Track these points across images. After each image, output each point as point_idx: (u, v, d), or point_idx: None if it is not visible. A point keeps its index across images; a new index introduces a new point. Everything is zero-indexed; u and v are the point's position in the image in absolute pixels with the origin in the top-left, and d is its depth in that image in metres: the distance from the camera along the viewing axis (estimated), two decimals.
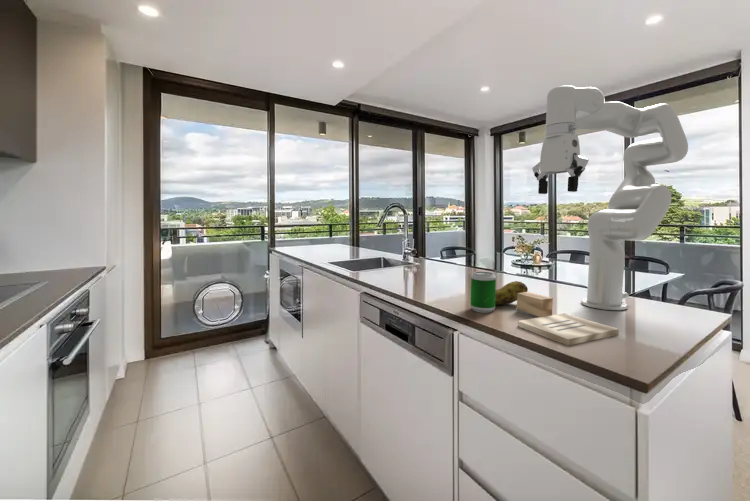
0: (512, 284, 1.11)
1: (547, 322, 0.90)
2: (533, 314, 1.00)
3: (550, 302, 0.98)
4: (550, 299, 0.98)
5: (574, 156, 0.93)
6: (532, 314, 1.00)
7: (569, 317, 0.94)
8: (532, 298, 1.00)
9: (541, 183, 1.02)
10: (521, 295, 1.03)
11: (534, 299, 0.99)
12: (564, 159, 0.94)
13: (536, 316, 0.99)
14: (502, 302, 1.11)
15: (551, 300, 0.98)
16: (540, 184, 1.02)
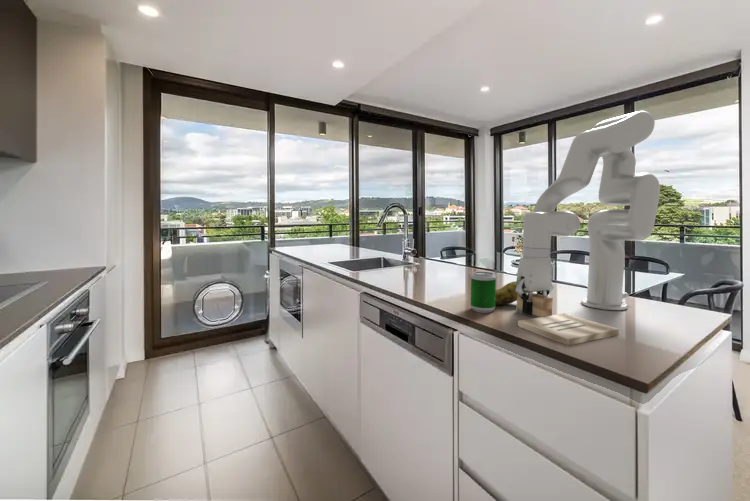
0: (512, 284, 1.11)
1: (547, 322, 0.90)
2: (533, 314, 1.00)
3: (550, 302, 0.98)
4: (550, 299, 0.98)
5: None
6: (532, 314, 1.00)
7: (569, 317, 0.94)
8: (532, 298, 1.00)
9: None
10: None
11: (534, 299, 0.99)
12: (549, 280, 1.01)
13: (536, 316, 0.99)
14: (502, 302, 1.11)
15: (551, 300, 0.98)
16: (531, 306, 1.00)
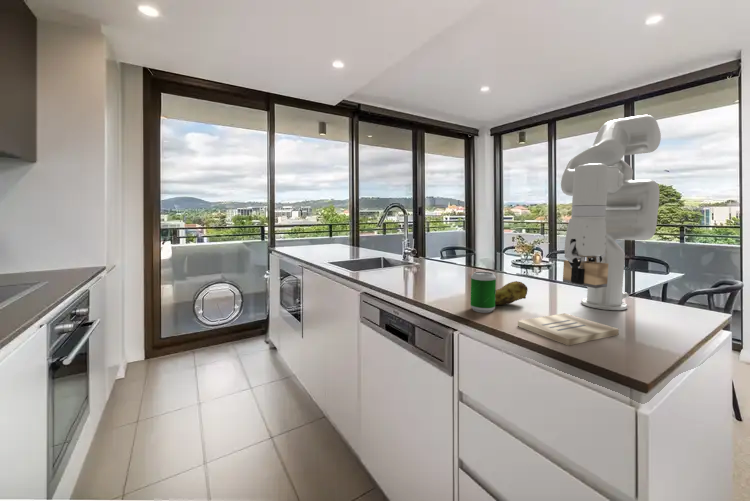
0: (512, 284, 1.11)
1: (547, 322, 0.90)
2: (584, 283, 0.86)
3: (606, 268, 0.85)
4: (606, 265, 0.85)
5: None
6: (584, 283, 0.86)
7: (569, 317, 0.94)
8: (584, 264, 0.86)
9: None
10: None
11: (587, 265, 0.85)
12: (603, 245, 0.87)
13: (589, 284, 0.85)
14: (502, 302, 1.11)
15: (606, 266, 0.85)
16: (583, 273, 0.86)
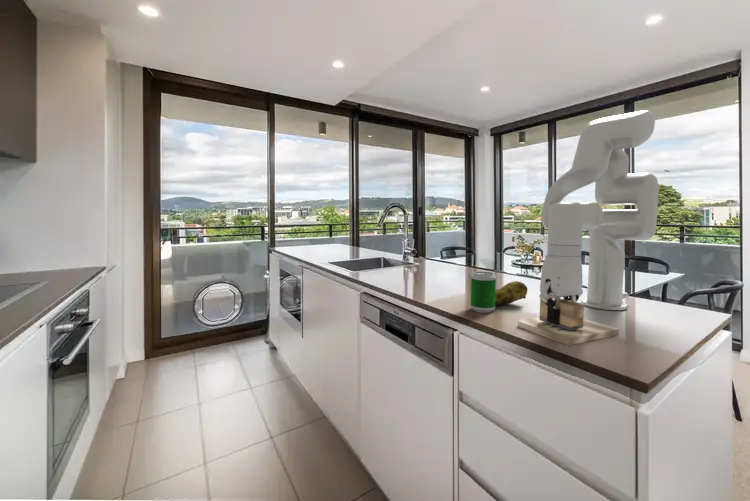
0: (512, 284, 1.11)
1: None
2: (560, 323, 0.84)
3: (581, 309, 0.83)
4: (581, 305, 0.82)
5: None
6: (559, 323, 0.84)
7: None
8: (559, 304, 0.84)
9: None
10: None
11: (562, 305, 0.83)
12: (579, 284, 0.85)
13: (564, 326, 0.83)
14: (502, 302, 1.11)
15: (582, 307, 0.83)
16: None
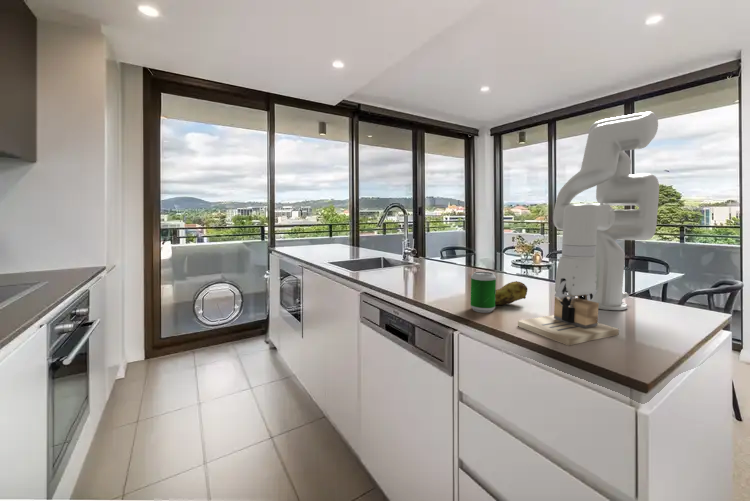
0: (512, 284, 1.11)
1: (547, 322, 0.90)
2: (575, 322, 0.86)
3: (596, 308, 0.85)
4: (596, 304, 0.85)
5: None
6: (574, 321, 0.87)
7: None
8: (574, 303, 0.86)
9: None
10: None
11: (577, 304, 0.86)
12: (594, 283, 0.87)
13: (579, 324, 0.85)
14: (502, 302, 1.11)
15: (596, 306, 0.85)
16: None
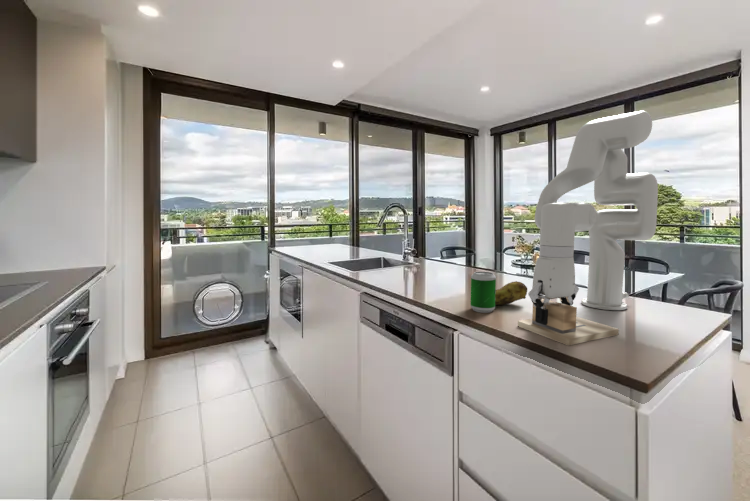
0: (512, 284, 1.11)
1: None
2: (552, 327, 0.83)
3: (574, 312, 0.82)
4: (574, 309, 0.82)
5: None
6: (552, 326, 0.83)
7: None
8: (552, 307, 0.83)
9: None
10: None
11: (554, 309, 0.82)
12: (572, 285, 0.84)
13: (557, 329, 0.82)
14: (501, 302, 1.11)
15: (574, 310, 0.82)
16: None
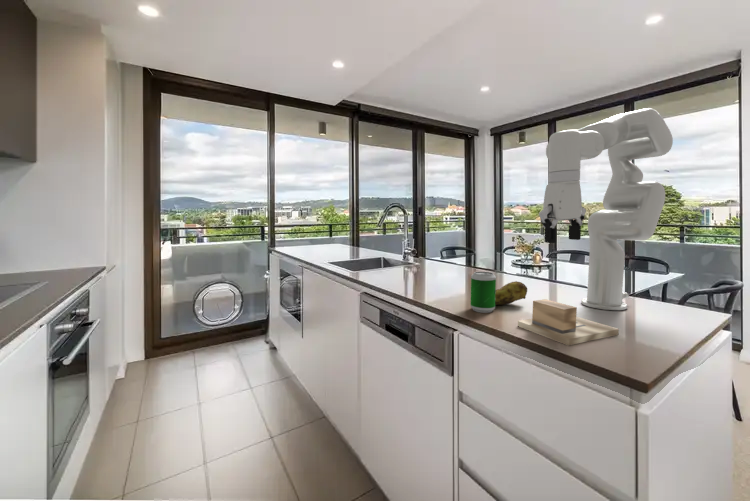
0: (512, 284, 1.11)
1: None
2: (552, 327, 0.83)
3: (574, 312, 0.82)
4: (574, 309, 0.82)
5: None
6: (552, 326, 0.83)
7: None
8: (552, 307, 0.83)
9: None
10: (538, 303, 0.87)
11: (554, 309, 0.82)
12: (579, 208, 0.92)
13: (557, 329, 0.82)
14: (501, 302, 1.11)
15: (574, 310, 0.82)
16: (555, 232, 0.90)
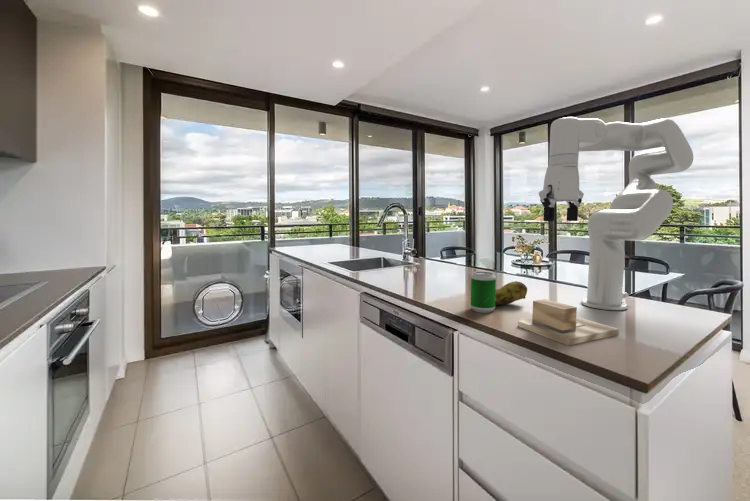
0: (511, 284, 1.11)
1: None
2: (552, 327, 0.83)
3: (574, 312, 0.82)
4: (574, 309, 0.82)
5: None
6: (552, 326, 0.83)
7: None
8: (552, 307, 0.83)
9: None
10: (538, 303, 0.87)
11: (554, 309, 0.82)
12: (577, 190, 0.99)
13: (557, 329, 0.82)
14: (501, 302, 1.11)
15: (574, 310, 0.82)
16: (553, 211, 0.97)
